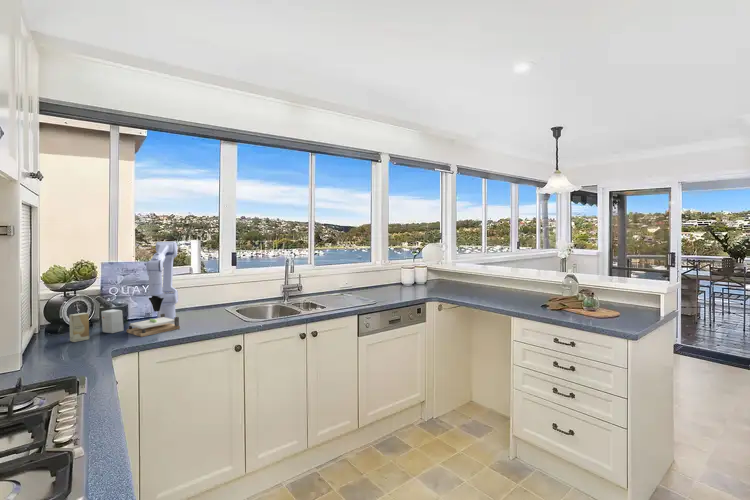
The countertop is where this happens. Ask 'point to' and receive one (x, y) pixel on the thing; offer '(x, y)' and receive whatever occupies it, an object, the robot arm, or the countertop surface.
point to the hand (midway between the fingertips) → (156, 311)
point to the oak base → (154, 328)
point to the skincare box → (79, 327)
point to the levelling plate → (152, 322)
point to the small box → (112, 321)
